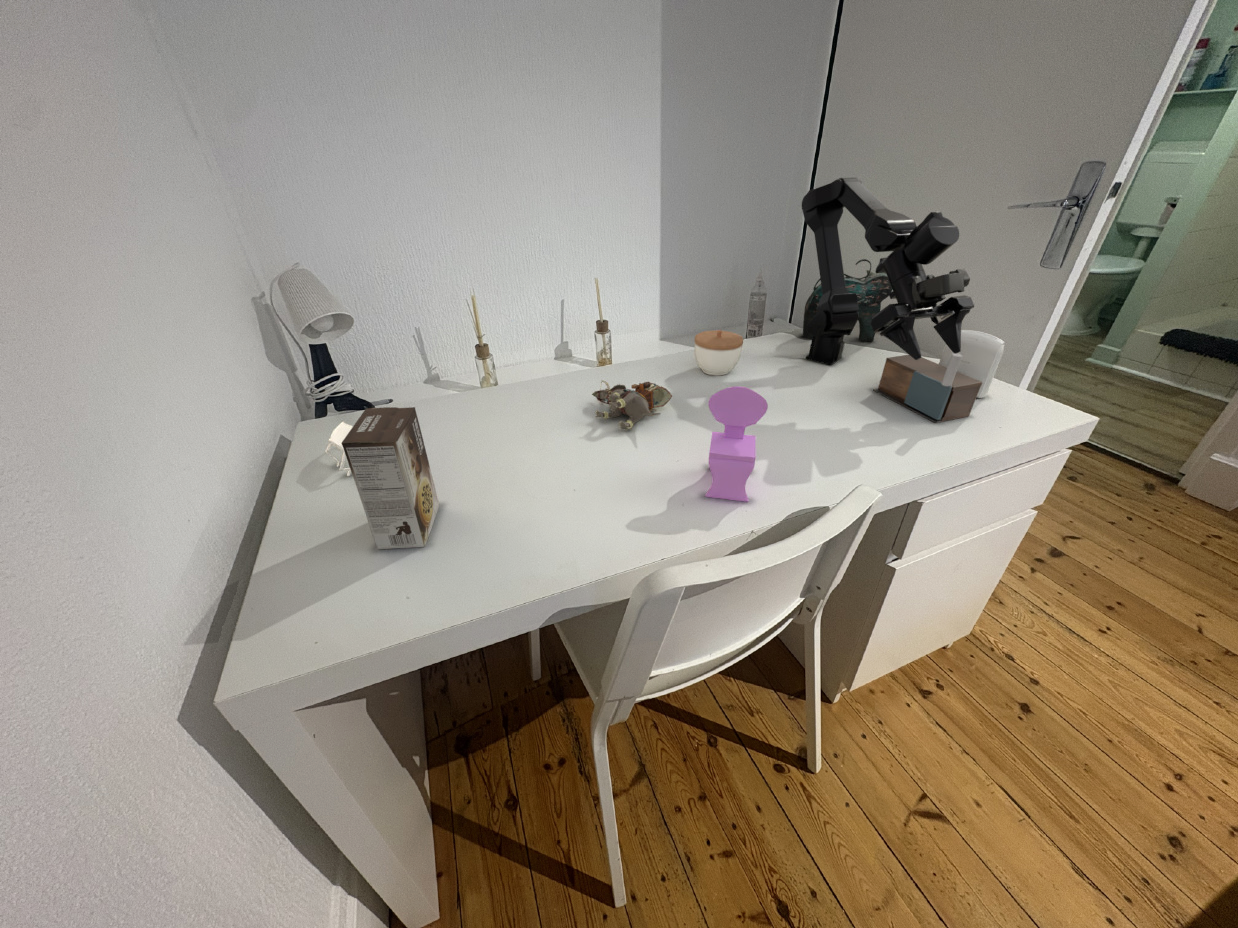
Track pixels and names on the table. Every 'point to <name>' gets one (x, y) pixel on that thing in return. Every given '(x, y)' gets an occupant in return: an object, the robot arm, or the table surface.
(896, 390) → the cabinet
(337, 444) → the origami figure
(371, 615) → the table surface
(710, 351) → the trinket box
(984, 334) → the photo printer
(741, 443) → the toy chair
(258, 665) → the table surface
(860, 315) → the dark green sculpted piece
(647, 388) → the figurine
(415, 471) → the brown food box
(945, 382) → the sliding door
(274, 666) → the table surface
